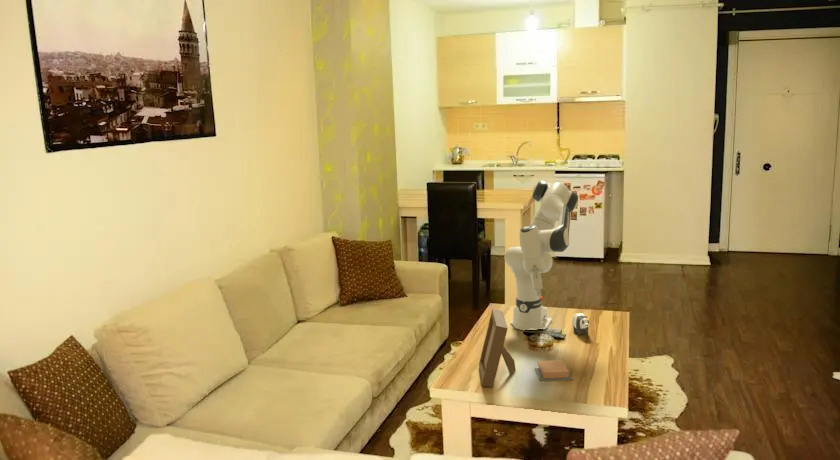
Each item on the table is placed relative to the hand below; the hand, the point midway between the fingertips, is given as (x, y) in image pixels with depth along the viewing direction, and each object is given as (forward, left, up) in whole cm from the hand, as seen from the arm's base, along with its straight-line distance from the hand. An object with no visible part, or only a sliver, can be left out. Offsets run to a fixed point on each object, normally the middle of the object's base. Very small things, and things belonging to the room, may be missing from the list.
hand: (539, 295), depth 294 cm
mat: (+17, +13, -27) cm, 34 cm away
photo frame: (+29, -6, -27) cm, 40 cm away
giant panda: (-35, +6, -27) cm, 45 cm away
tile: (+11, +9, -25) cm, 29 cm away
